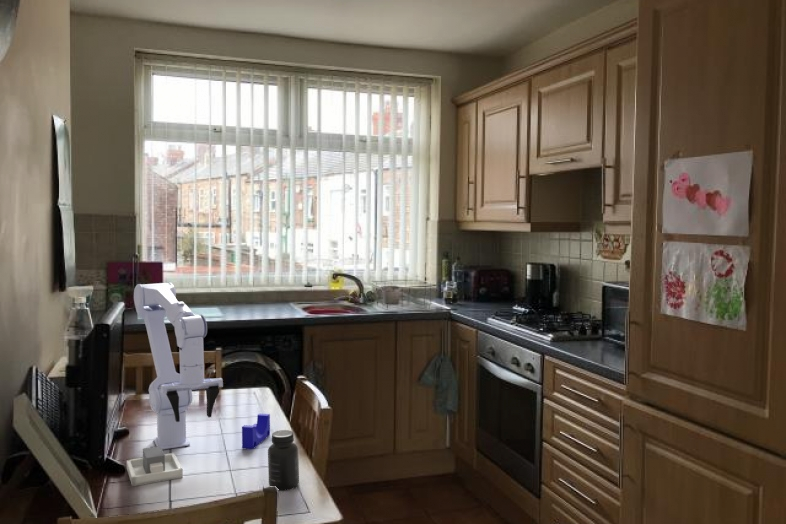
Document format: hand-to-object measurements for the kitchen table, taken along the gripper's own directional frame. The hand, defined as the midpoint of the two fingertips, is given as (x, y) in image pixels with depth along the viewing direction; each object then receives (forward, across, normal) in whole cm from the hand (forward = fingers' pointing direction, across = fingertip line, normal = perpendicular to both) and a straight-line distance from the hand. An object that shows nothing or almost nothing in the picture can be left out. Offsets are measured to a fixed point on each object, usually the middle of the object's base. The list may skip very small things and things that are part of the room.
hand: (193, 418), depth 164 cm
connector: (+10, -10, -5) cm, 15 cm away
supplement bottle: (+11, +15, -25) cm, 31 cm away
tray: (+10, -10, -4) cm, 15 cm away
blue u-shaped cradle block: (+11, +17, +7) cm, 21 cm away
